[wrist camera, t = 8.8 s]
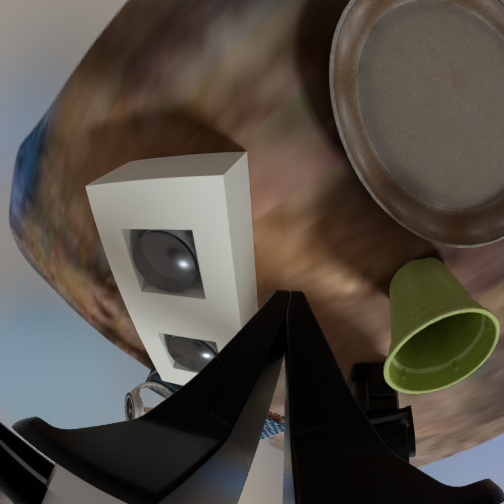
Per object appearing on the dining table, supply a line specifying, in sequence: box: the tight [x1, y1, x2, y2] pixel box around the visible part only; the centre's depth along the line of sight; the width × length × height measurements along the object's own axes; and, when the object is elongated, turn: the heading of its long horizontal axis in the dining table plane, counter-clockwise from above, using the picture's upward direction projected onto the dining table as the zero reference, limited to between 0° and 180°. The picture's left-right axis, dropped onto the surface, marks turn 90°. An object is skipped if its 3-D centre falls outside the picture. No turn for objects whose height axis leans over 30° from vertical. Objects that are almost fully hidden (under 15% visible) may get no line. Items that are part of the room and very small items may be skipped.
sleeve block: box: [85, 152, 258, 386], centre depth 24 cm, size 22×10×6 cm, turn 3°
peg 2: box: [167, 335, 218, 372], centre depth 26 cm, size 5×5×6 cm
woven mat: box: [260, 412, 284, 439], centre depth 41 cm, size 10×11×2 cm
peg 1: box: [133, 229, 200, 292], centre depth 21 cm, size 5×5×6 cm
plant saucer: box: [329, 0, 504, 248], centre depth 13 cm, size 21×21×3 cm
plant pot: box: [384, 257, 499, 394], centre depth 19 cm, size 9×9×9 cm
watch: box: [125, 367, 183, 421], centre depth 33 cm, size 6×8×11 cm
